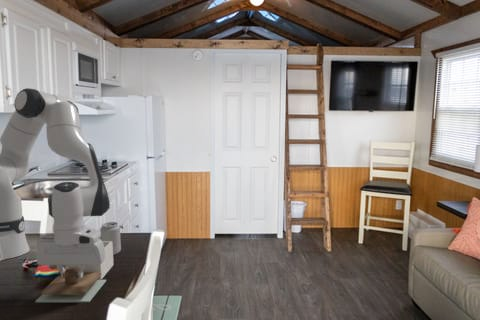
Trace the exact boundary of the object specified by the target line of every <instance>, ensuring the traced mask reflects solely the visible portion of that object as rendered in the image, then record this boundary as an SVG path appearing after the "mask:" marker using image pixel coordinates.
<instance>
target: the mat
mask: <svg viewBox="0 0 480 320" xmlns="http://www.w3.org/2000/svg"><path fill="white" fill-rule="evenodd" d="M106 282H107V279H98V280H97V281H96V282H95V283H94V284H93V286H92V287H91V288H90V289H89V290H88V292H87V293H86V294H80V295H42V294H41V295H40V296H39V297H38V298H36V300H35V301H34V302H35V303H90V302H91V301H92V299H94V297H95V296H96V295H97V293H98V292H99V290H101V288H102V287H103V286H104V284H105V283H106Z"/></svg>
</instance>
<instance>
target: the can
mask: <svg viewBox="0 0 480 320" xmlns="http://www.w3.org/2000/svg"><path fill="white" fill-rule="evenodd" d="M99 231H100V232H101V237H100V239H101V240H102V241H112V244H113V256H115V255H117V254H119V253H120V252H121V250H122V243H121V226H120V225H119V223H118V222H115V221H109V222H105V223H102V224H101V227H100V228H99Z"/></svg>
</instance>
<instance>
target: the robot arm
mask: <svg viewBox="0 0 480 320" xmlns="http://www.w3.org/2000/svg"><path fill="white" fill-rule="evenodd" d="M13 105H14V109H15V110H14V112H13V114H12V115H11V117H10V118H9V121H8V123H7V124H6V126H5V128H4V130H3V132H2V134H1V136H0V145H1V152H0V262H1V261H3V260H8V259H13V258H16V257H20V256H23V255H25V254H27V253H29V252H30V250H31V247H30V246H29V243H28V241H27V238H26V237H27V236H26V233H25V227H26V226H25V225H26V224H25V217H24V215H23V208H22V206H23V205H22V198H21V196H20V195H18V194H17V193H16V192H15V190H14V186H13V183H15V182H19V181H21V180H22V179H23V178H25V177H26V176H27V175H28V174H29V172H30V169H31V168H30V167H31V166H30V162H29V159H30V155H31V153H32V150H33V147H34V145H35V143H36V141H37V139H38V137H39V135H40V133H41V131H42V130H43V126H44V125H45V124H46V141H47V145H48V147H49V148H50V150H51V151H52V152H54V154H56V155H58V156H60V157H63V158H65V159H71V160H74V161H77V162H79V163H81V164H83V165H84V166H85V168H86V170H87V173H88V177H89V181H90V184H91V185H90V186H87V187H81V186H80V184H78V183H77V182H74V181H63V182H59V183H57V184H55V185H53V187H52V193H51V194H50V195H49V196H48V198H47V206H48V215H49V216H50V217H51V218H53V225H52V231H53V235H52V234H47V235H45V234H44V235H40V236H38V237H37V239H36V241H35V243H36V263H37V264H38V266H56V269H57V270H58V272H59V273H60V274H61V278H65V271H66V270H65V265H79V268H81V269H80V271H78V272H77V273H76V278H82V277H83V271H84V269H85V267H86V265H100V264H101V263H102V262H103V261H104V260H105V250H104V244H103V242H102V240H101V232H100V230H97V229H94V228H91V227H88V226H86V225H85V220H84V217H102V216H103V215H105V214H106V213H107V212H108V211H109V210H110V208H111V207H110V206H111V198H110V197H111V196H110V194H109V192H108V190H107V188H106V185H105V182H104V178H103V174H102V171H101V167H100V164H99V161H98V157H97V154H96V151H95V148H94V146H93V145H92V143H89V142H87V141H86V140H85V139H84V136H83V133H82V125H81V120H80V119H81V118H80V115H79V108H78V105H76V104H75V103H73V102H72V101H70V100H68V99H67V100H66V99H64V98H63V97H60V96H58V95H55V94H51V93H47V92H45V91H39V90H37V89H35V88H28V87H27V88H23V89H22V90H20V91H19V92H18V93H17V95H16V96H15V98H14V104H13Z"/></svg>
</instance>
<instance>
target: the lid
mask: <svg viewBox="0 0 480 320" xmlns="http://www.w3.org/2000/svg"><path fill="white" fill-rule="evenodd" d="M78 271H80V270H79V267H69V268H68V269H67V270H66V271H65V278H61V273H60V274H59V275H58V276H56V277H55V278H54V279H53V280H52V281H51V282H50V283H49V284H48V285H47V286H45V288H43V289H42V291H40V292H41V295H80V294H86V293H87V292H88V290H89V289H90V288H91V287H92V286H93V284H94V283H95V282H96V281H97V280H100V279H99V277H100V276H101V272H83V277H82V278H76V273H77V272H78Z"/></svg>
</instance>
